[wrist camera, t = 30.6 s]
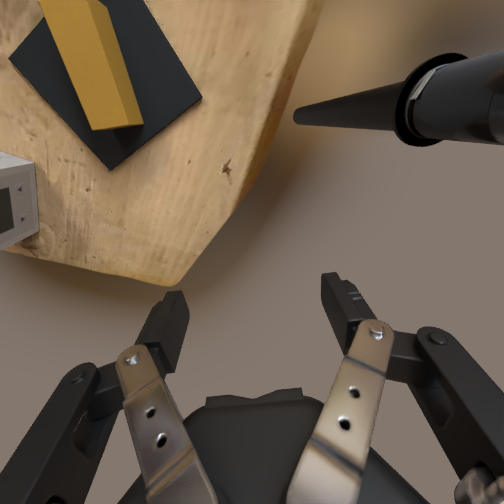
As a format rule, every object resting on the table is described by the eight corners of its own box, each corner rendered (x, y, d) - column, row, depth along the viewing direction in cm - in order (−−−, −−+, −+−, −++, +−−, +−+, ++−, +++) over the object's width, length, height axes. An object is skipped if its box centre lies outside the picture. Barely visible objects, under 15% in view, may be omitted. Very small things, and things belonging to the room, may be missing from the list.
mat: (110, -53, 25) (107, -57, 25) (202, 97, 32) (201, 96, 31) (11, 59, 29) (7, 58, 29) (111, 170, 36) (109, 171, 36)
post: (144, 124, 33) (107, 7, 27) (129, 124, 29) (81, -14, 23) (111, 129, 33) (67, 14, 27) (92, 130, 29) (35, -5, 23)
